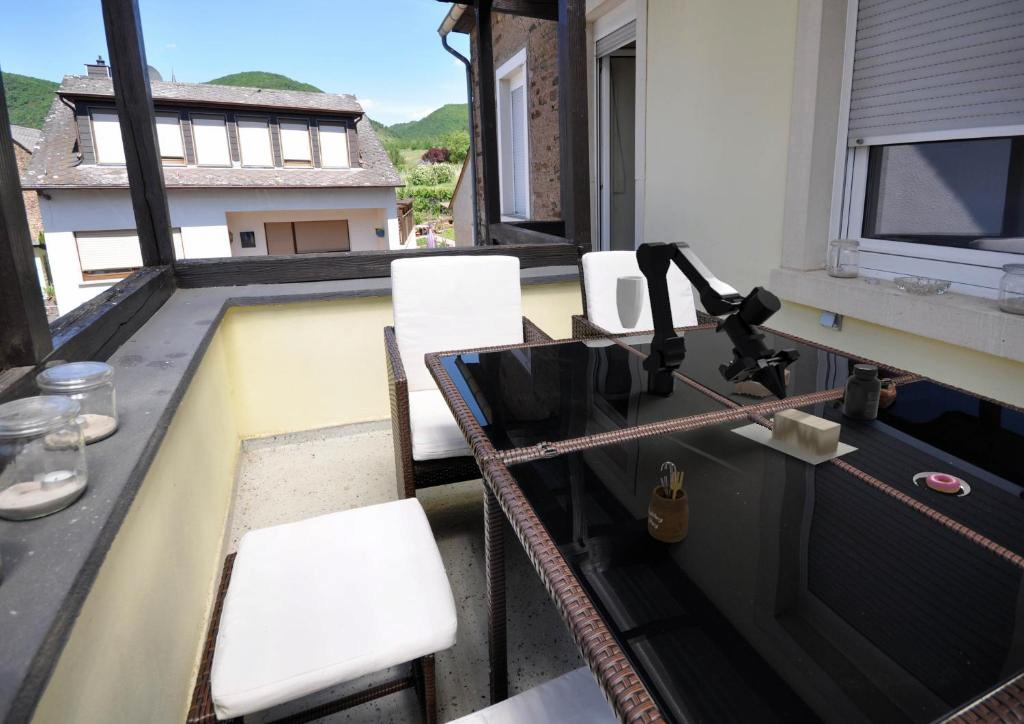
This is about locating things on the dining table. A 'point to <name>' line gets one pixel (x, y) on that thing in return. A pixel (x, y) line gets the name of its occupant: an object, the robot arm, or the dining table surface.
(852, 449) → the mat
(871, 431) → the dining table surface
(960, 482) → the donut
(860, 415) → the supplement bottle
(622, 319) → the cup
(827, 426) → the block
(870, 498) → the dining table surface
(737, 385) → the brick
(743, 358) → the robot arm
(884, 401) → the pastry
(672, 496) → the utensil holder
